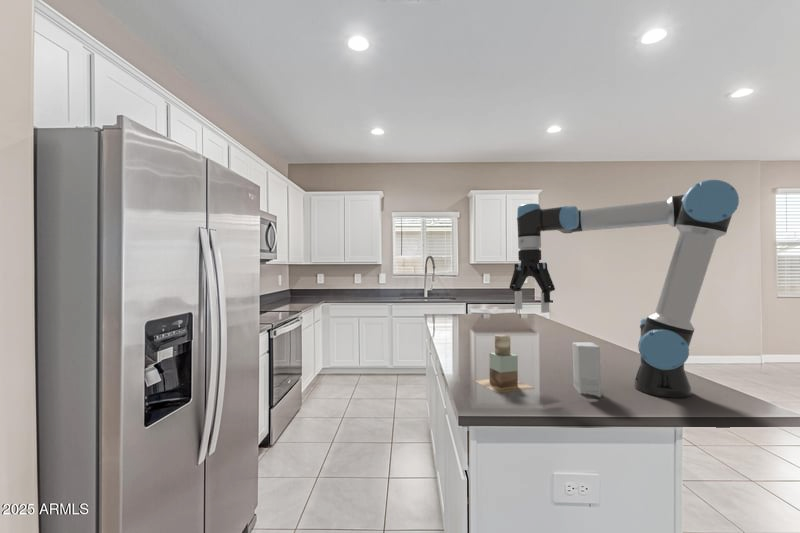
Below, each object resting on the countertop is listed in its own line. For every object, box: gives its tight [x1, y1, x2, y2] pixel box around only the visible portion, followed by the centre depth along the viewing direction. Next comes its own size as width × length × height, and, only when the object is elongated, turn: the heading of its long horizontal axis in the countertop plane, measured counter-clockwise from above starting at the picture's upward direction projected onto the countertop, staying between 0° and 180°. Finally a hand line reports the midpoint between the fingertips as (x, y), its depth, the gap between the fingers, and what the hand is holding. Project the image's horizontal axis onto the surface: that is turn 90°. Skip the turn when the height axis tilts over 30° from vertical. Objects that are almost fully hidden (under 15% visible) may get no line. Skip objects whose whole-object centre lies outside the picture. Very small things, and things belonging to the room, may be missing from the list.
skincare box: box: [571, 341, 602, 398], centre depth 124 cm, size 8×7×16 cm
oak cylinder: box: [494, 334, 511, 356], centre depth 131 cm, size 5×5×6 cm
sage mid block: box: [489, 351, 519, 373], centre depth 130 cm, size 6×6×5 cm
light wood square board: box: [474, 378, 535, 394], centre depth 130 cm, size 14×14×1 cm
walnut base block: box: [489, 367, 519, 388], centre depth 130 cm, size 6×6×5 cm
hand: (531, 310), depth 136 cm, fingers open, 13 cm apart
